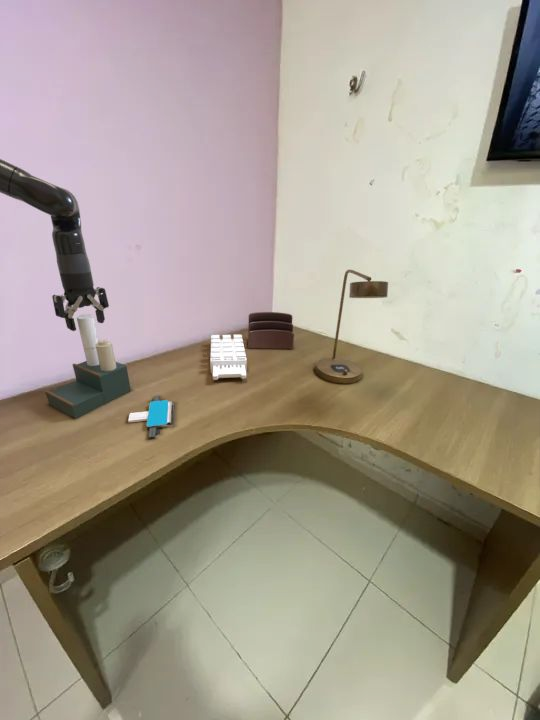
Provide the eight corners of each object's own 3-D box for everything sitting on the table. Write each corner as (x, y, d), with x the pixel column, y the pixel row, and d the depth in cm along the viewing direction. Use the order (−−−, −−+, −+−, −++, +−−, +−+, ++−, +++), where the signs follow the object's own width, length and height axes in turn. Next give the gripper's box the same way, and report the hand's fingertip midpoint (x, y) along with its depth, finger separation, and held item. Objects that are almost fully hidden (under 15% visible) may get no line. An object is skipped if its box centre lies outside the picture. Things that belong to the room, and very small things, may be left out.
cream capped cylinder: (97, 368, 93) (91, 341, 89) (110, 363, 97) (105, 336, 93) (106, 372, 91) (100, 344, 87) (119, 367, 95) (114, 339, 91)
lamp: (332, 400, 100) (350, 280, 83) (310, 363, 124) (321, 265, 108) (381, 398, 102) (408, 281, 86) (351, 362, 126) (367, 266, 110)
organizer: (241, 334, 137) (249, 370, 105) (241, 344, 139) (248, 383, 107) (211, 334, 134) (209, 371, 103) (211, 345, 137) (210, 384, 105)
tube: (104, 363, 97) (95, 316, 90) (90, 367, 94) (79, 319, 88) (99, 358, 99) (90, 313, 93) (85, 362, 96) (74, 316, 90)
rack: (49, 404, 91) (40, 375, 87) (105, 379, 105) (99, 354, 101) (75, 418, 85) (67, 388, 81) (130, 390, 100) (126, 364, 95)
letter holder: (248, 340, 144) (248, 310, 138) (290, 341, 145) (292, 312, 139) (247, 348, 135) (248, 317, 129) (293, 349, 136) (295, 318, 130)
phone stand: (134, 399, 95) (133, 395, 94) (174, 396, 98) (174, 391, 97) (123, 442, 77) (122, 437, 77) (173, 436, 80) (172, 431, 80)
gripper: (91, 265, 92) (101, 318, 99) (39, 271, 81) (55, 330, 88) (107, 268, 89) (117, 322, 96) (55, 275, 77) (70, 335, 84)
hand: (87, 326), depth 92 cm, fingers open, 8 cm apart
